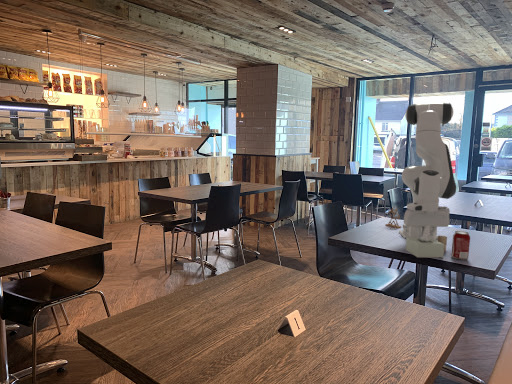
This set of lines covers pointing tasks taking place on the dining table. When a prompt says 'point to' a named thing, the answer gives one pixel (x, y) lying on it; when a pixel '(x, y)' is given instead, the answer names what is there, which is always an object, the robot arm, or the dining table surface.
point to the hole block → (424, 248)
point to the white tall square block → (426, 234)
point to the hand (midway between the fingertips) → (425, 235)
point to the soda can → (460, 245)
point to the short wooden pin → (443, 241)
